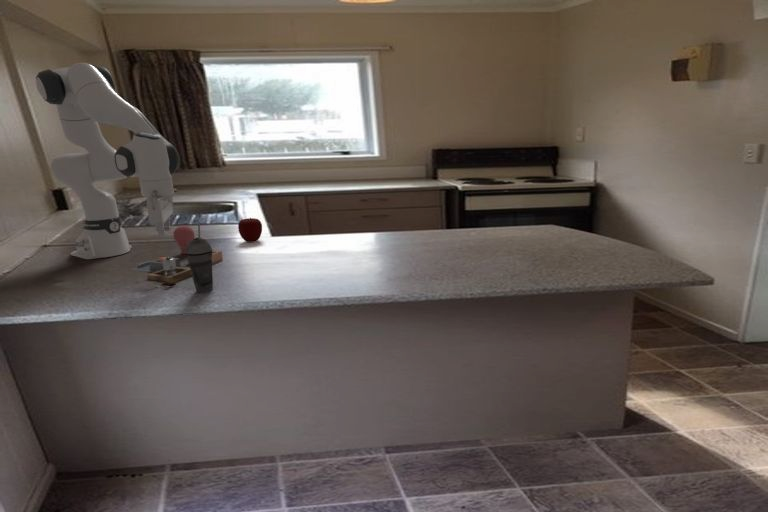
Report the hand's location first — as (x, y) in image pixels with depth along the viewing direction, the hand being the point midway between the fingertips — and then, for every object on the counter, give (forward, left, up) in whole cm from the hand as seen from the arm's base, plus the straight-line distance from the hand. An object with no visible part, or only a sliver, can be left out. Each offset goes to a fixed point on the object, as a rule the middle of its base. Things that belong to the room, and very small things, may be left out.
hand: (165, 233), depth 140 cm
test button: (-9, +5, -12) cm, 16 cm away
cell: (0, 0, -14) cm, 14 cm away
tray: (0, -1, -15) cm, 15 cm away
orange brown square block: (-1, +15, -15) cm, 21 cm away
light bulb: (-17, +22, -15) cm, 32 cm away
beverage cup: (+18, -5, -15) cm, 24 cm away
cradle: (-12, +5, -15) cm, 20 cm away
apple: (-9, +49, -15) cm, 53 cm away
